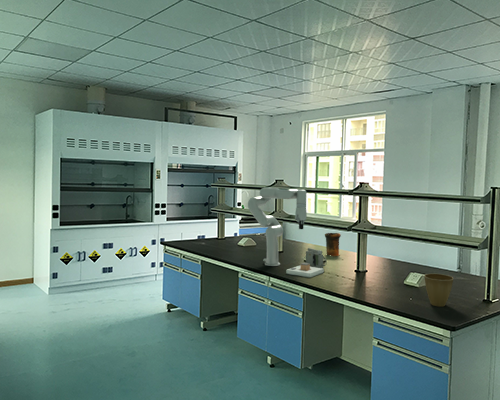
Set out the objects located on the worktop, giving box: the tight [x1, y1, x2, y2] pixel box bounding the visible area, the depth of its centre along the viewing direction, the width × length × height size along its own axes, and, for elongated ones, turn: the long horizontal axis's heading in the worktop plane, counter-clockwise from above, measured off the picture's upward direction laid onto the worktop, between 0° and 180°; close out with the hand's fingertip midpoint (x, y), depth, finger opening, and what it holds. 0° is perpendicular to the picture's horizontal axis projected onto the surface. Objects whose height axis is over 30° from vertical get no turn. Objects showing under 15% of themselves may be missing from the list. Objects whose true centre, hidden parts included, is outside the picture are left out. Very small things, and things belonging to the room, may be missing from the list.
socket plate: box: [286, 264, 324, 278], centre depth 314 cm, size 20×20×4 cm
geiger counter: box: [305, 247, 328, 269], centre depth 338 cm, size 14×6×25 cm
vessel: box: [324, 232, 342, 257], centre depth 386 cm, size 14×14×20 cm
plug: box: [300, 262, 311, 271], centre depth 314 cm, size 5×5×7 cm
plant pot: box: [424, 273, 454, 307], centre depth 236 cm, size 15×15×16 cm
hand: (301, 229), depth 329 cm, fingers closed
